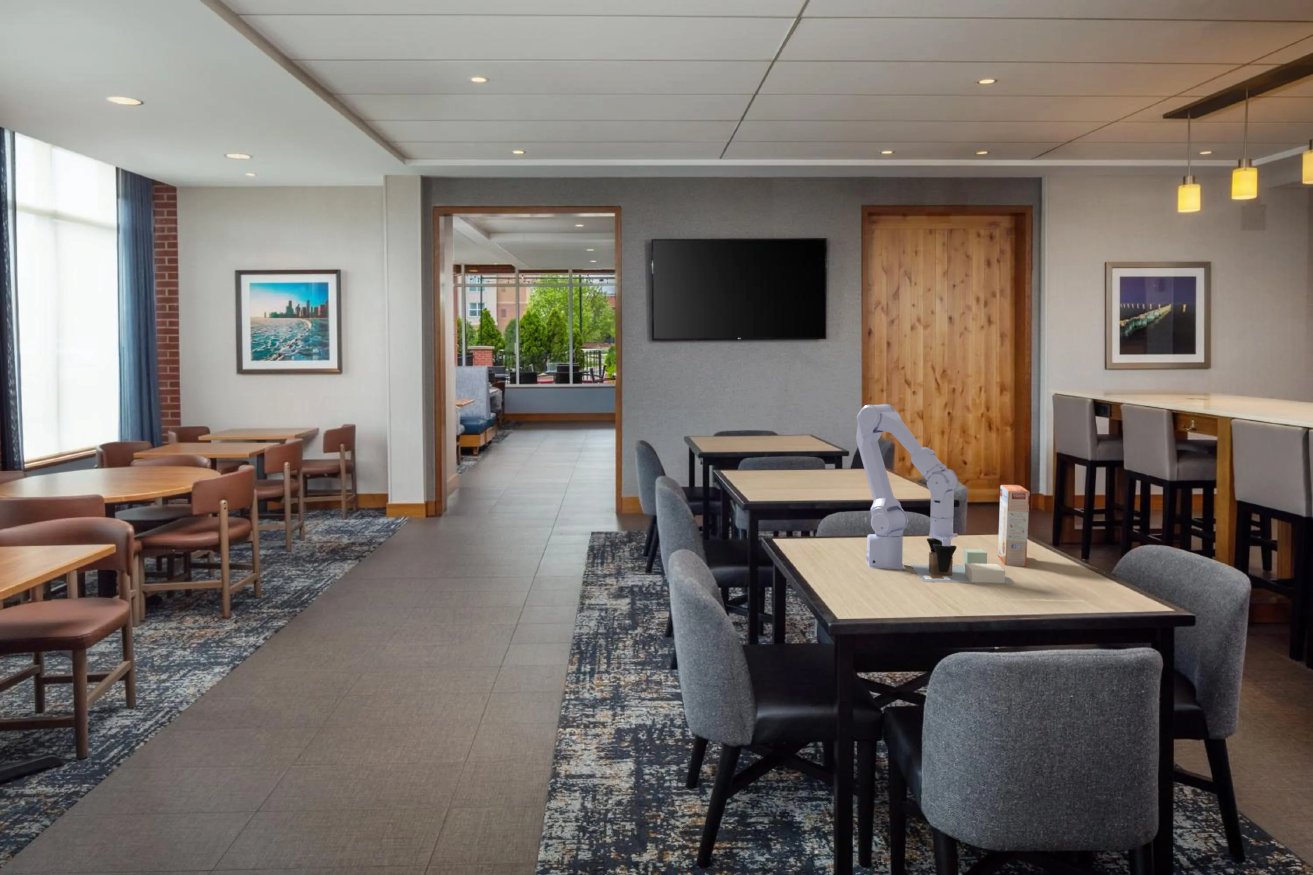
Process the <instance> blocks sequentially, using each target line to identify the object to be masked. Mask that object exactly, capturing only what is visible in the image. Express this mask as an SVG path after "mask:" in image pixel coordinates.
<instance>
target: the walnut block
mask: <svg viewBox="0 0 1313 875" xmlns="http://www.w3.org/2000/svg"><path fill="white" fill-rule="evenodd" d="M953 556H954V555H953ZM953 556H952V558H951V562H950V566H949V570H948V572H939V568H938V561H937V555H936V552H931V551H929V554H928V565H929V572H930V573H931V574H932V575H942V576H952V566H953V558H954V557H953Z"/></svg>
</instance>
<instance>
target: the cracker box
mask: <svg viewBox="0 0 1313 875" xmlns="http://www.w3.org/2000/svg"><path fill="white" fill-rule="evenodd" d="M999 487H1000V490H999V492H1000V493H999V517H998V518H999V519H998V539H997V540H998V542H997V544H998V545H997V557H998V558H999V560H1000V561H1001V562H1002V563H1003V565H1004V566H1012V567H1016V566H1017V567H1027V559H1028V558H1027V556H1028V555H1027V554H1028V534H1029V512H1030V509H1029V508H1030V491H1029V490H1027V489H1026V488H1025V487H1023V486H1021V485H1019V484H1001V485H1000V486H999Z"/></svg>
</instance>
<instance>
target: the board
mask: <svg viewBox="0 0 1313 875" xmlns="http://www.w3.org/2000/svg"><path fill="white" fill-rule="evenodd" d="M910 566H911V568H913V570H914V571H915V573H916V574H917V576H918V577H919V578H920V579H921V580H922V582H924V583H956V584H957V583H961V584H962V583H963V584H964V583H967V584H1007V585H1009V584H1010V585H1012V584H1013V585H1014V582H1013V581H1012V580H1010V579H1009V578H1008V577H1007V576H1006V575H1005V582H972V581H971V580H970V579H969V578H968V577H967V576H966V575H965V569H964V568H963V565H952V576H942V575H932V574H931V573H930V572H929V564H928V565H927V564H910Z"/></svg>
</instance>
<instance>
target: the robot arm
mask: <svg viewBox="0 0 1313 875" xmlns="http://www.w3.org/2000/svg"><path fill="white" fill-rule="evenodd" d="M856 421H857V427H856V428H857V429H856V435H855V439H856V440H855V441H856V444H857V447H858V451H859V454H860V458H861V461H862V464H863V465H862V466H863V468H864V472H865V475H866V480H867V483H868V486H869V489H870V493H871V497H872V500H873V502H872V505H871V507H870V510H869V511H870V515H871V519H870V526H871V528H872V530H873V532H874V534H873V533H872V534H871V533H870V534H867V537H866V558H865V561H866V564H867V566H868V567H869V569H894V570H896V569H897V570H900V569H901V570H906V566H905V565H904V564H903V556H904V555H903V553H904V552H903V548H904V547H903V546H904V545H903V544H904V538H903V537H904V530H905V529H906V527H907V526H908V523H909V518H908V514H907V513H906V512H905V510H904V509H903V508H902V506H901V502H900V501H899V500H898V499H897V498H896V497H895V496H894V493H893V491H892V486H891V482H890V479H889V476H888V472H887V469H886V466H885V463H884V458H883V454H882V452H881V448H880V444H879V440H880V438H881V437H882V435H883V433H890V434H891V435H892V436H893V437H894V438H895V439H896V440H897V441H898V442H899V443H900V444H901V445H902V447H903V448H904V449H905V450H907V452H908V453H909V454H910V462H911V464H913V465H914V467H915V468H916V469H917V470H918V472H919V473H920V475H922V476H923V478H924V479H925V480H926V486H927V489H928V490H929V492H930V518H929V519H930V522H929V524H930V525H929V527H930V528H929V534H928V536H929V537H930V538H929V537H928V538H926V541H927V543H928V545H929V548H930V549H929V550H930V552H936V555H937V561H938V568H939V572H948V570H949V566H950V562H951V558H952V556H954V553H955V551H956V550H957V545H952V540H953V538H958V533H957V532H956V533H955V532H954V511H955V510H954V503H955V500H954V499H955V489H957V487H958V484H959V479H958V476H957V474H956V472H955V471H954V470H953V469H949V468H947V465H946V464H943V463H942V462H941V461H940V460H939V458H938V457H937V456H936V451H935V450H934V449H931V448H929V447H926V446H923V445H921V443H920V442H919V441H918V440H917V438H916V437H915V436H914V434H913V433H912V431H911V430H910V429H909V427H908V426H907V425H906V424H905V423H904V421H903V419H902V417H901V415H900V413H899V412H898V411H896V410H895V408H894V407H893V406H892V405H891V404H889V403H881V404H866V405H864V406H863V407H862V408H861V409H860V410H859V412H858V414H857V415H856Z"/></svg>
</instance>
